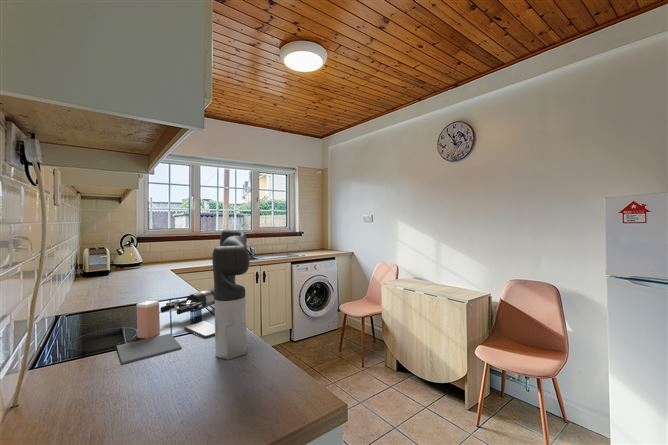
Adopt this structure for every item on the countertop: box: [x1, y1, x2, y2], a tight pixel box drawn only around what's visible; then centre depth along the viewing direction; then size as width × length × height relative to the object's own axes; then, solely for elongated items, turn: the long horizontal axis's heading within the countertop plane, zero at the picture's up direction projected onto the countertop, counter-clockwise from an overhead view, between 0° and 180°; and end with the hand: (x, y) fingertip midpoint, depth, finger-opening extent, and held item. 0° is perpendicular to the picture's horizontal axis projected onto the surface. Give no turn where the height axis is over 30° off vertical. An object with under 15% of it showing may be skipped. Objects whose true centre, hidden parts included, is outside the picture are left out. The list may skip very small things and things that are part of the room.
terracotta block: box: [136, 300, 161, 339], centre depth 112 cm, size 5×5×12 cm
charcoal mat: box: [116, 333, 183, 365], centre depth 101 cm, size 16×16×1 cm
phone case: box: [183, 320, 215, 339], centre depth 116 cm, size 9×2×16 cm
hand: (169, 310), depth 120 cm, fingers open, 8 cm apart
